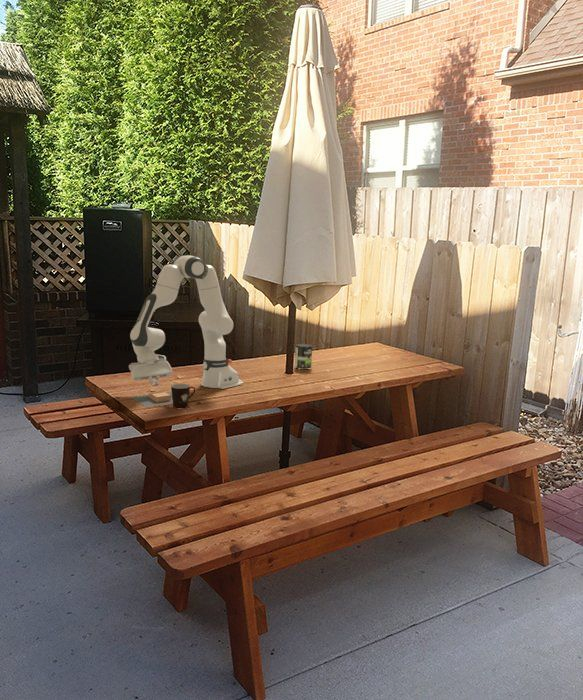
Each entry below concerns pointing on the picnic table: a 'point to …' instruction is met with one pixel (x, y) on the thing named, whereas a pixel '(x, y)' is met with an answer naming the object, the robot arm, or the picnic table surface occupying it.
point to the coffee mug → (180, 395)
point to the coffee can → (303, 356)
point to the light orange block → (159, 396)
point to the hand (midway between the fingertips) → (156, 385)
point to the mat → (150, 400)
